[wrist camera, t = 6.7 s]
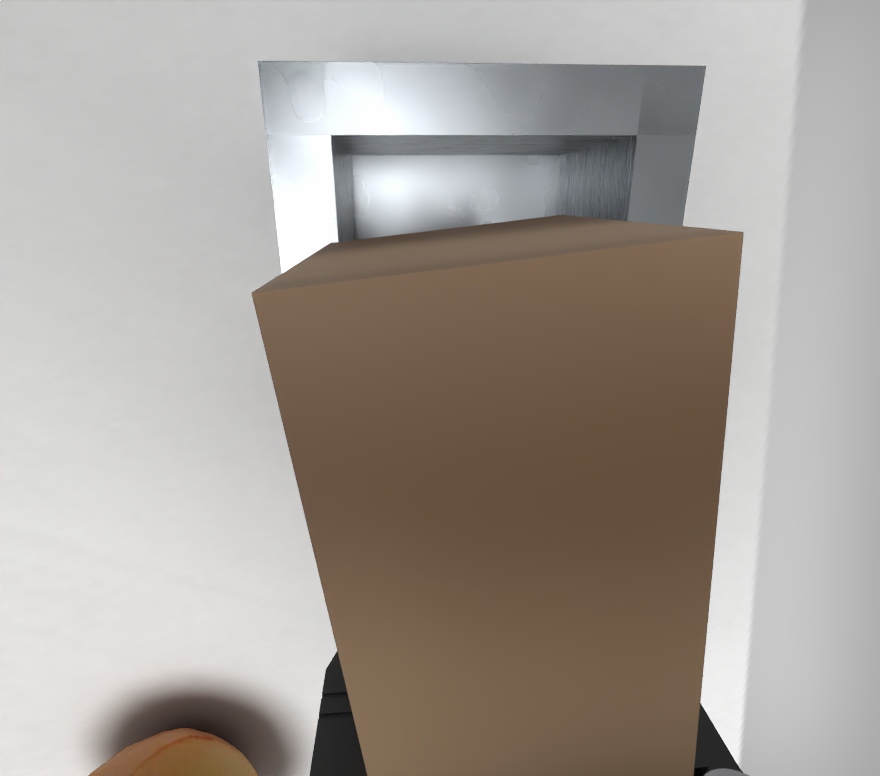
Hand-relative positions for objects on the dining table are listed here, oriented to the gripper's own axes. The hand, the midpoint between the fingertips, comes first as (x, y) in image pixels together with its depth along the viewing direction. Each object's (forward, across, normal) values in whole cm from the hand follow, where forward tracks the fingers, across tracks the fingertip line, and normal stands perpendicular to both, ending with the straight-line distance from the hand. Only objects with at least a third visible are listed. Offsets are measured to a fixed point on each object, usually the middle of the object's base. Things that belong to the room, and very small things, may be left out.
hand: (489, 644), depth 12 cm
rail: (0, 0, 0) cm, 0 cm away
